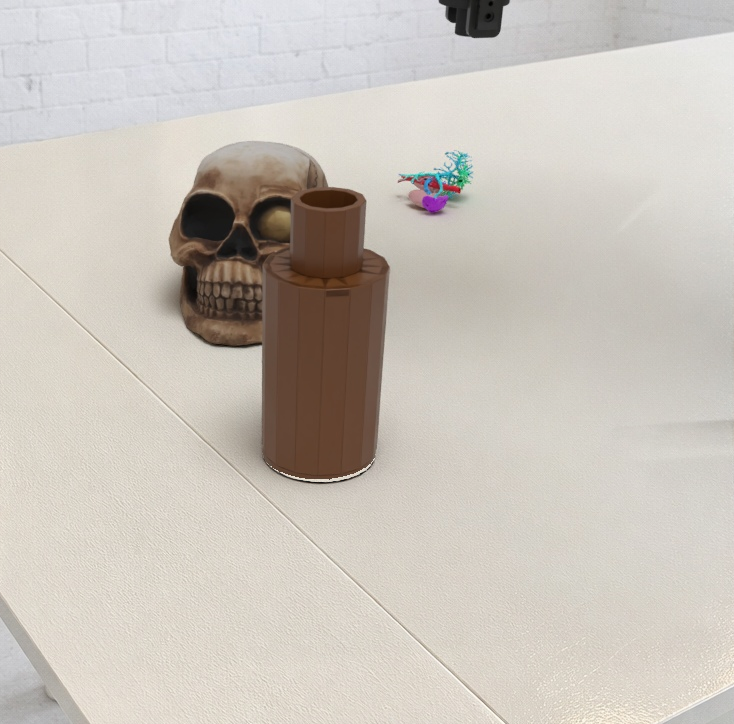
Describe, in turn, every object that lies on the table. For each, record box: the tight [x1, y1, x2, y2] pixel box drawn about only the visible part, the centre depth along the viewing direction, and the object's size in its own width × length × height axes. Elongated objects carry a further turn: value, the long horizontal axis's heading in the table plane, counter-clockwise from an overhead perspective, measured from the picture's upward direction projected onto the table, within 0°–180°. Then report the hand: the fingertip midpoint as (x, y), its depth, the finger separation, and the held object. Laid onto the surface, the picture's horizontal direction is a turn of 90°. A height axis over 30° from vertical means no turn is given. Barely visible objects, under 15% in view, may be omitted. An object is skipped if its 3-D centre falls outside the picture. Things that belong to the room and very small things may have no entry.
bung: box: [437, 0, 511, 38], centre depth 77 cm, size 5×5×4 cm
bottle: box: [261, 186, 391, 480], centre depth 69 cm, size 7×7×17 cm
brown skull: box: [168, 140, 329, 347], centre depth 93 cm, size 16×17×13 cm
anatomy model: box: [397, 149, 474, 214], centre depth 114 cm, size 5×8×7 cm
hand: (471, 27), depth 78 cm, fingers closed on bung, 4 cm apart
